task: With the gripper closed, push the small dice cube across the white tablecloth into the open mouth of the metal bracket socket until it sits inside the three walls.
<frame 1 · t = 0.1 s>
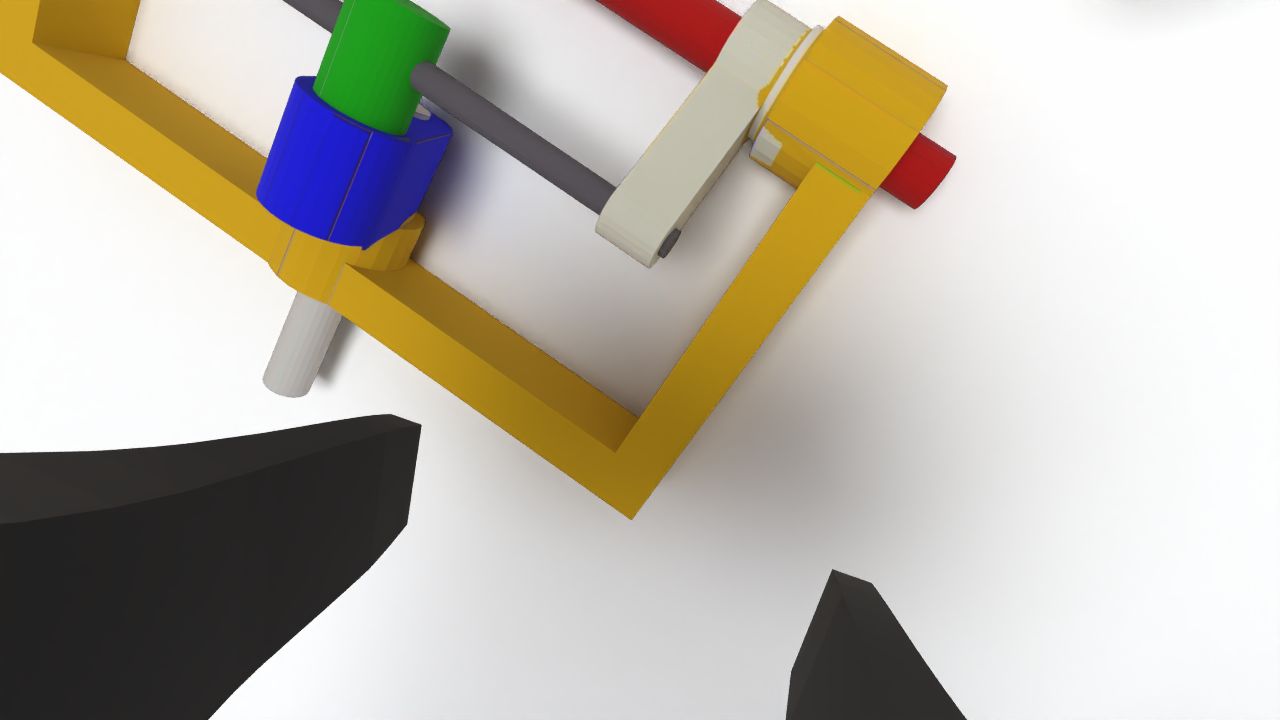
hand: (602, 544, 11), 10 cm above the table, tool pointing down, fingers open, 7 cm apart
multicolour toy assembly: (388, 126, 21), on the table
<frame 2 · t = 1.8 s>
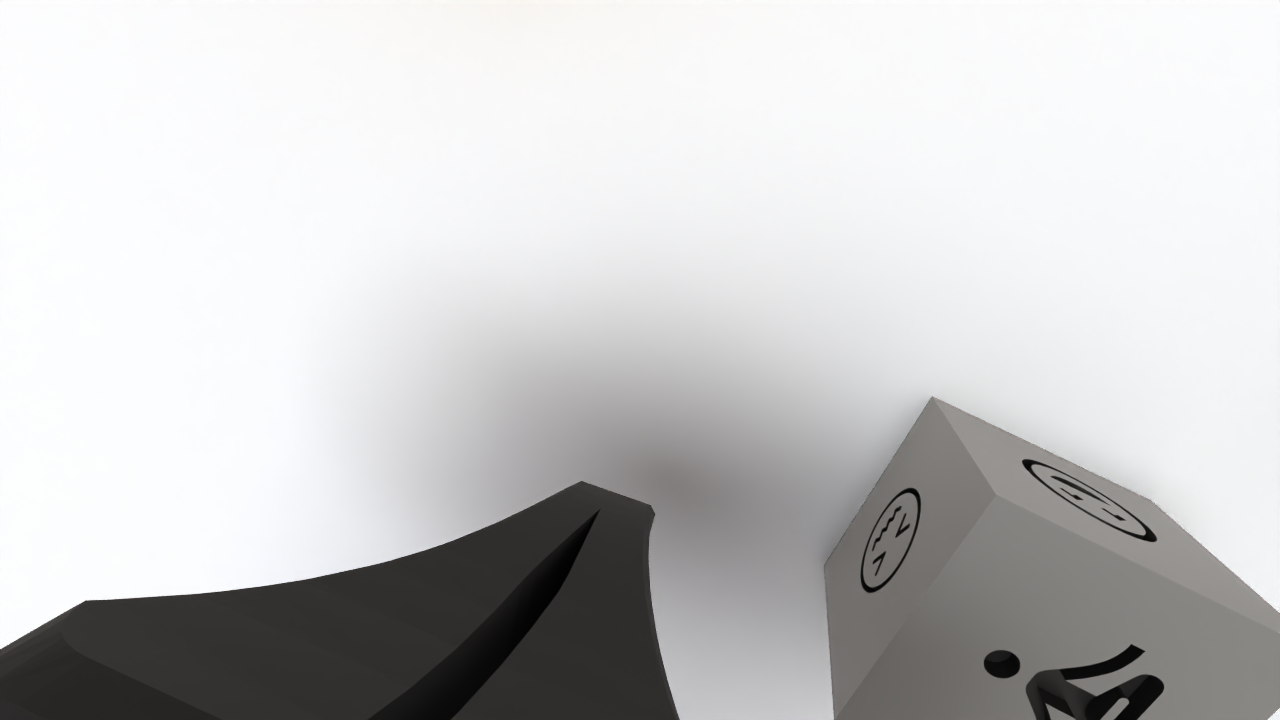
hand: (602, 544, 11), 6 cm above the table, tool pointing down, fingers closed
dice cube: (972, 529, 15), on the table
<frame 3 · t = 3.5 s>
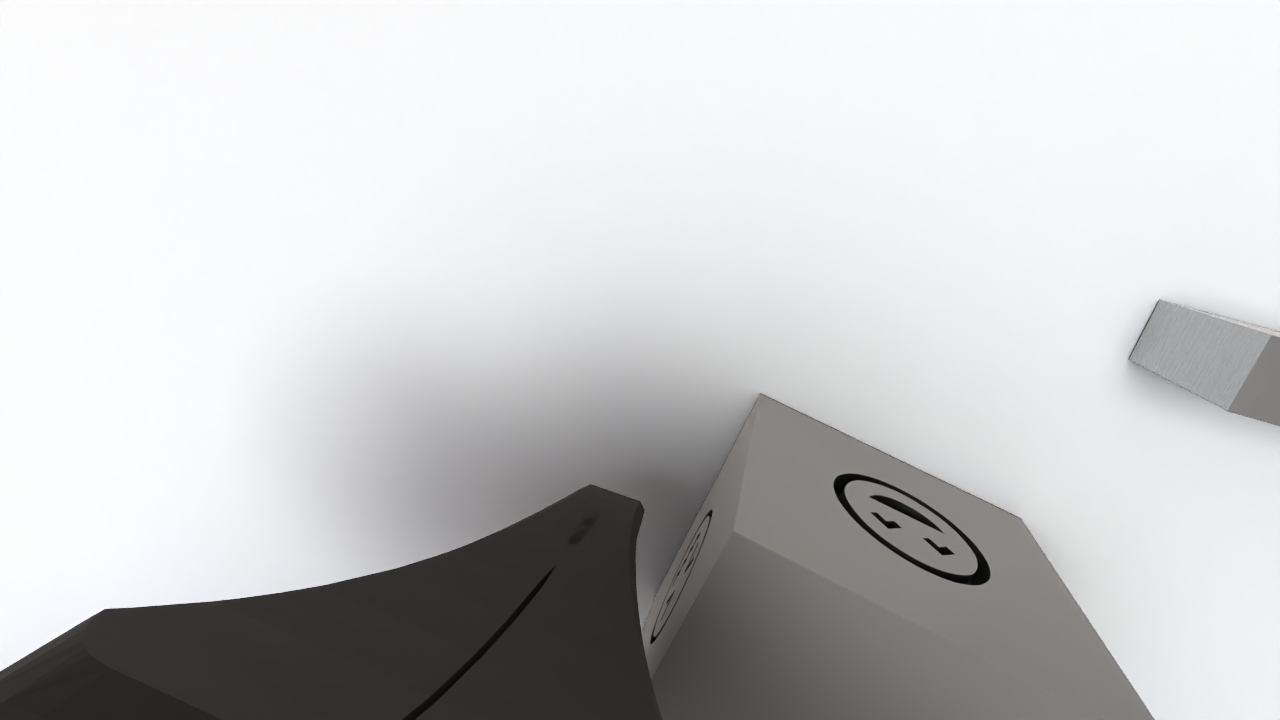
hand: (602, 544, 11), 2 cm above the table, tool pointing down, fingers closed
dice cube: (821, 554, 12), on the table, touching gripper
bracket socket: (1267, 704, 11), on the table
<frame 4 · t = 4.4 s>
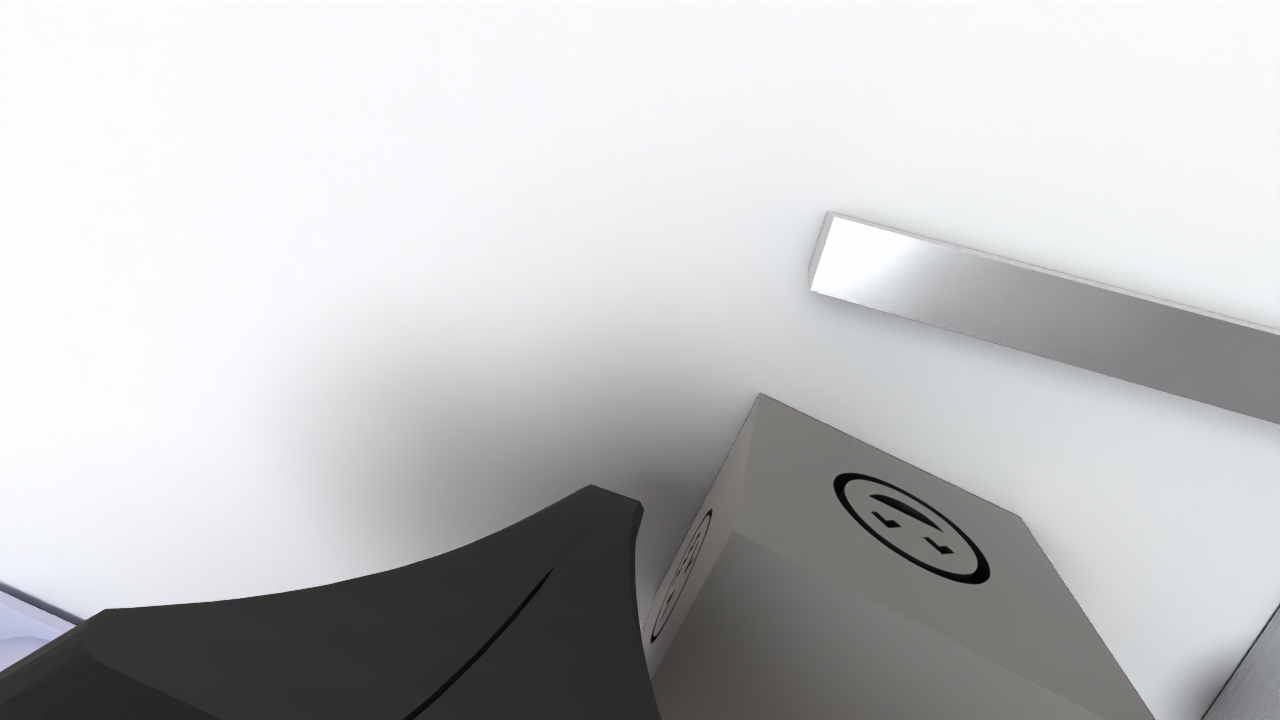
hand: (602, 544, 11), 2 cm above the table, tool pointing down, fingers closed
dice cube: (821, 554, 12), on the table, touching gripper
bracket socket: (960, 595, 12), on the table
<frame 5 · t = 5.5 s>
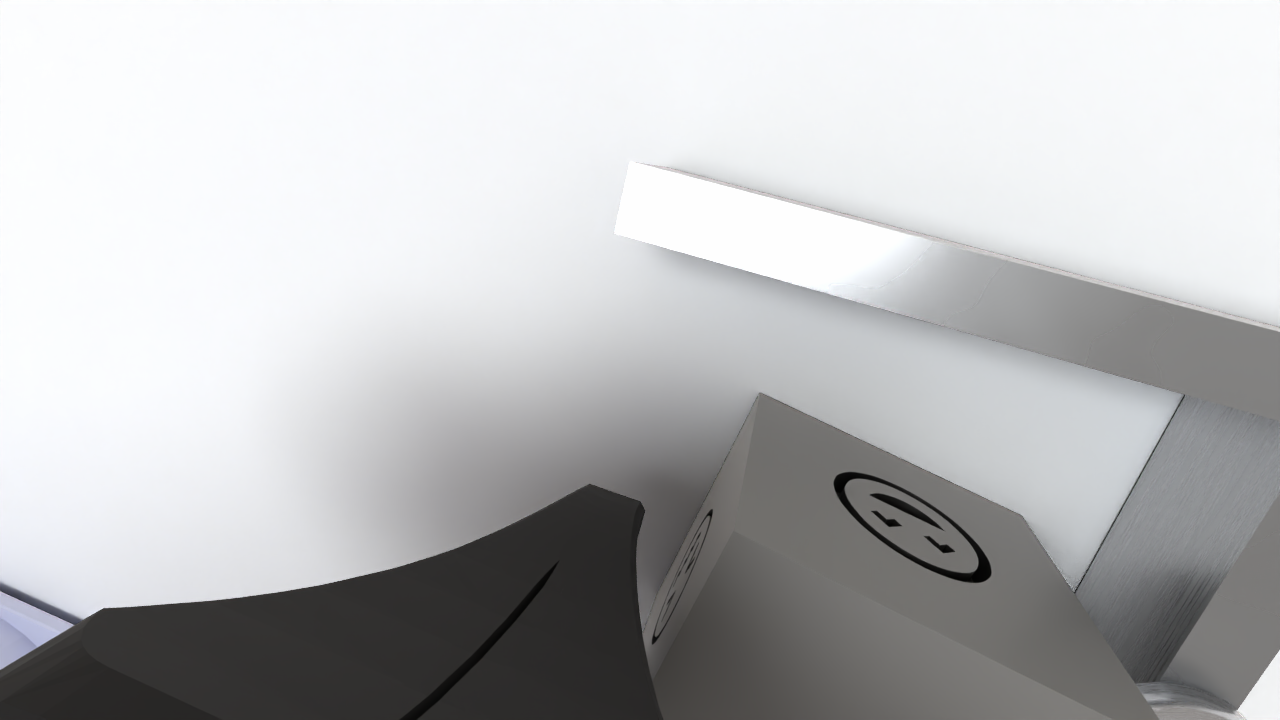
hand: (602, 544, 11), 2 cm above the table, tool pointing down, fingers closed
dice cube: (822, 553, 12), on the table, touching gripper
bracket socket: (810, 542, 12), on the table
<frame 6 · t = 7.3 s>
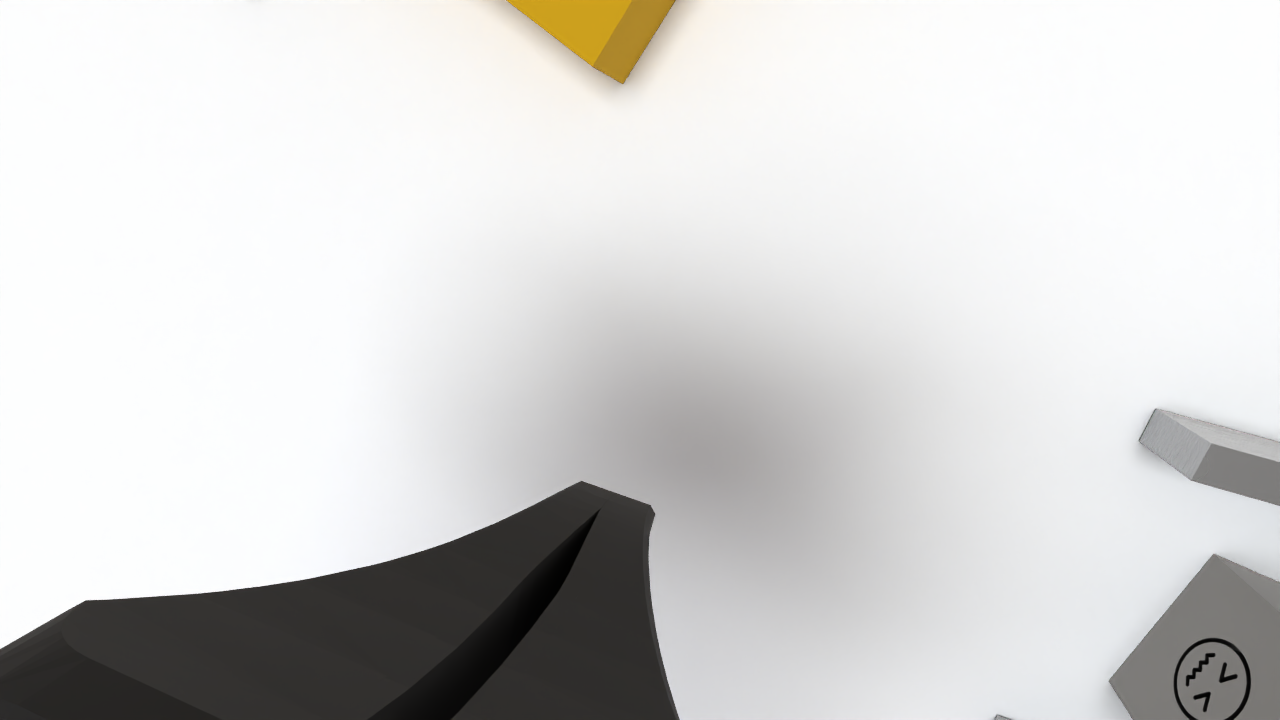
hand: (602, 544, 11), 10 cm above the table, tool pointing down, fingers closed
dice cube: (1239, 653, 19), on the table
bracket socket: (1227, 642, 18), on the table
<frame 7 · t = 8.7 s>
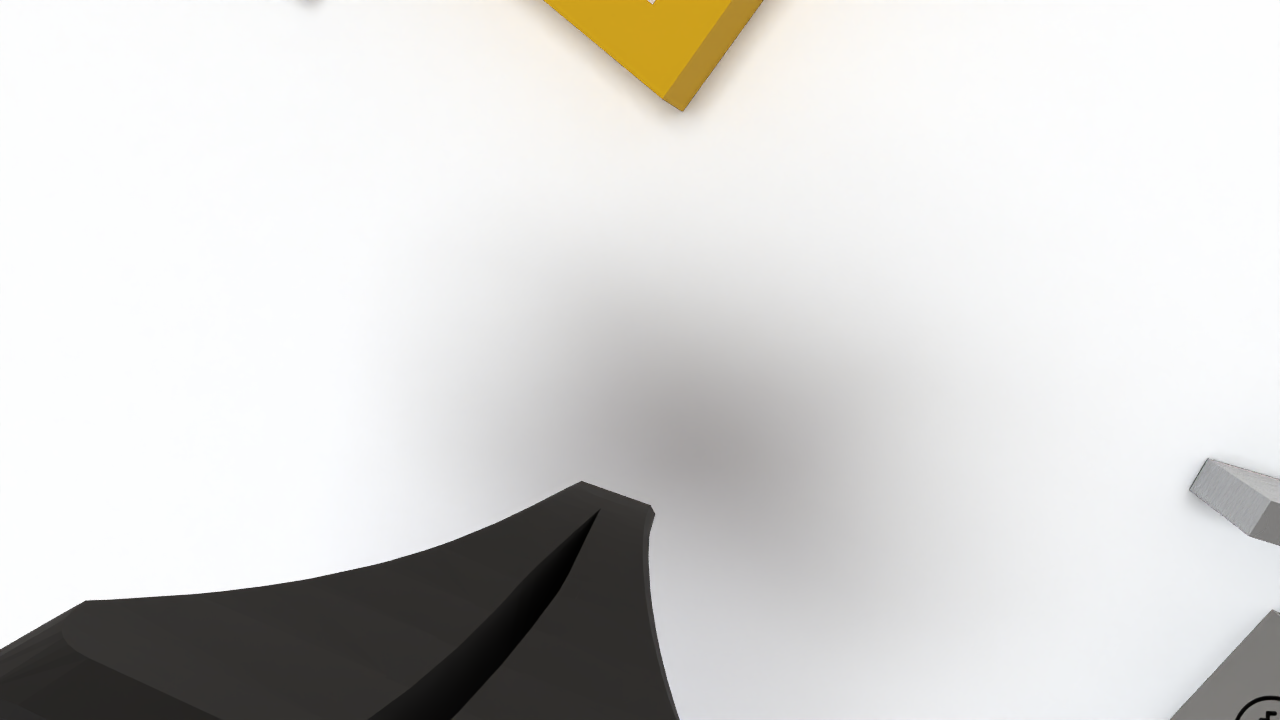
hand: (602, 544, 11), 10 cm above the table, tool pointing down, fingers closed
bracket socket: (1270, 687, 19), on the table
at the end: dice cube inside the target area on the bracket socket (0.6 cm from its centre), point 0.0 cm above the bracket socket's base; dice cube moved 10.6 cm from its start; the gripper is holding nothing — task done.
